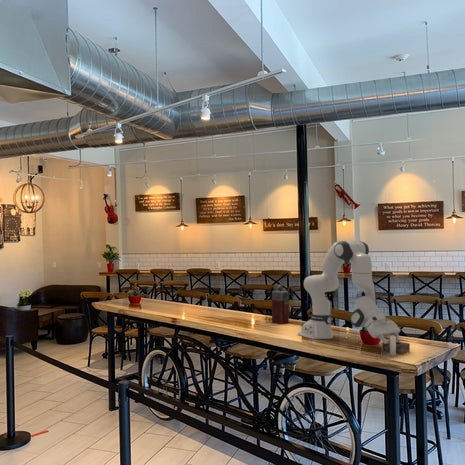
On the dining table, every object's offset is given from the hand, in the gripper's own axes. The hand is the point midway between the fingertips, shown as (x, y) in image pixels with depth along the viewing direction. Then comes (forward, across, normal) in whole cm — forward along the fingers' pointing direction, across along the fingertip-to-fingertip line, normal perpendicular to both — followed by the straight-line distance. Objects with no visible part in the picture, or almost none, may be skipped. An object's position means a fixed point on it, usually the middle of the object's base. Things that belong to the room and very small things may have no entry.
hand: (393, 342), depth 236 cm
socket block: (+1, -9, -9) cm, 13 cm away
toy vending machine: (-69, -9, -78) cm, 105 cm away
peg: (+5, 0, -5) cm, 7 cm away
